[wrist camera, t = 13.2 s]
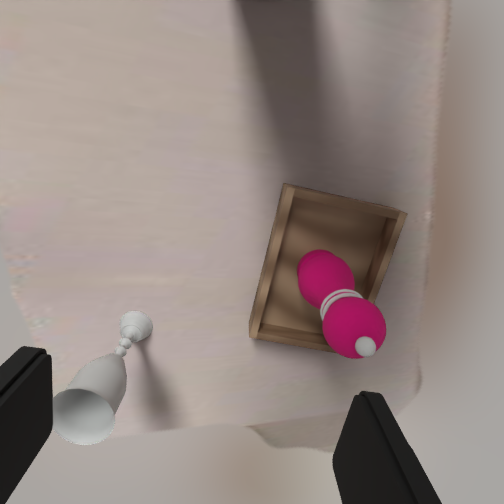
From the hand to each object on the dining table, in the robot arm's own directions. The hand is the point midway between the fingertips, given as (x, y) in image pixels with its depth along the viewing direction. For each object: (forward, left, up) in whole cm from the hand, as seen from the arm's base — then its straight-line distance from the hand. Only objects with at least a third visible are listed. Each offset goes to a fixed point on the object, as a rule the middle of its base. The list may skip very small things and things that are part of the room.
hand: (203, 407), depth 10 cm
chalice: (+22, -11, -37) cm, 44 cm away
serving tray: (+7, +14, -37) cm, 40 cm away
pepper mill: (+7, +14, -36) cm, 39 cm away
